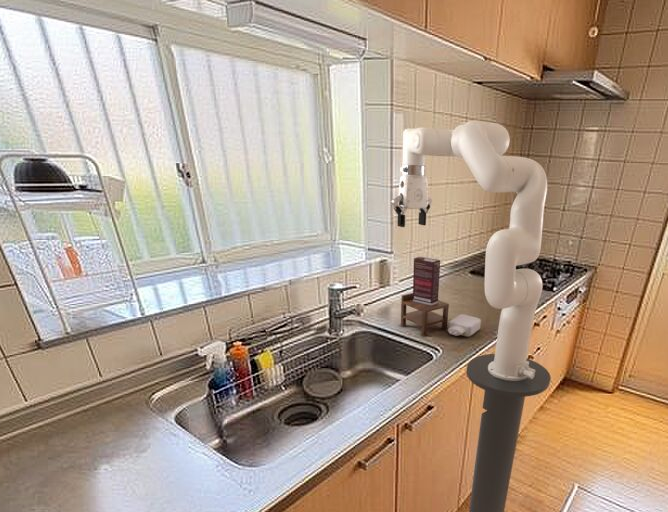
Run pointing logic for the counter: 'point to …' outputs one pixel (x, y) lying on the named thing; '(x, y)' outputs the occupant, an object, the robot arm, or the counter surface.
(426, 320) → the shelf rack
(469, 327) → the charger
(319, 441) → the counter surface
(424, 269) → the supplement box
